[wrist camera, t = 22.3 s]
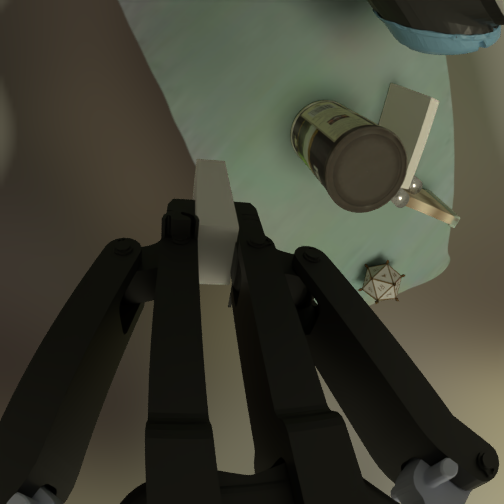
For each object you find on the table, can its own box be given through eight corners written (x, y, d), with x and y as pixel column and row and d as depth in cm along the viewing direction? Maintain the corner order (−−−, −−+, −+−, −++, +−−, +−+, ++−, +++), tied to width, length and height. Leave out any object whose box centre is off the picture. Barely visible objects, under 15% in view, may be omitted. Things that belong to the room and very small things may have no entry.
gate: (376, 179, 47) (404, 207, 40) (381, 168, 46) (411, 195, 39) (426, 200, 51) (454, 227, 44) (431, 191, 50) (460, 218, 43)
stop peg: (386, 157, 46) (413, 178, 40) (397, 160, 47) (424, 181, 40) (381, 170, 48) (407, 193, 41) (392, 172, 48) (418, 195, 42)
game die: (365, 251, 63) (392, 250, 53) (392, 273, 64) (421, 276, 54) (343, 288, 62) (368, 293, 52) (372, 309, 63) (399, 317, 53)
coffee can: (324, 178, 47) (364, 228, 36) (275, 138, 42) (305, 179, 31) (369, 131, 43) (422, 167, 32) (323, 85, 38) (373, 106, 27)
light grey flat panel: (390, 82, 39) (431, 97, 31) (398, 85, 39) (439, 101, 31) (367, 159, 46) (400, 187, 38) (375, 160, 46) (408, 189, 39)
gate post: (364, 160, 46) (398, 190, 38) (376, 163, 47) (411, 193, 38) (359, 174, 48) (392, 206, 39) (372, 176, 48) (405, 208, 40)
